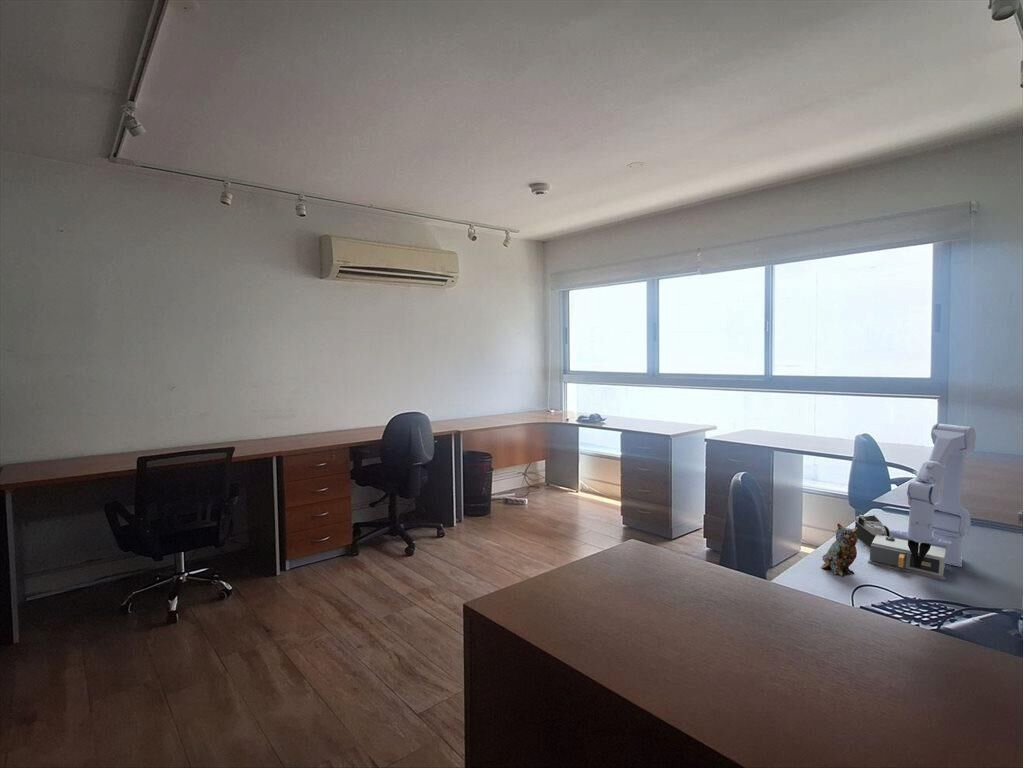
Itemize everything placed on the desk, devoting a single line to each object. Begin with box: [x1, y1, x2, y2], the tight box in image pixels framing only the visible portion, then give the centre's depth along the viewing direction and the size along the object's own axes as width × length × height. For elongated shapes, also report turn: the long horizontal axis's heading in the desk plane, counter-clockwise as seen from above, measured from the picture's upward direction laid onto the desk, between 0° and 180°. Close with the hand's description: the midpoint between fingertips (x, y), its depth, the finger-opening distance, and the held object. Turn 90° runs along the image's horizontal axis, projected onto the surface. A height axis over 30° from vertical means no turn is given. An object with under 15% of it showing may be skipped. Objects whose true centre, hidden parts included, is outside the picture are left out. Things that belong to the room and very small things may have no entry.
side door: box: [869, 545, 907, 568], centre depth 167 cm, size 5×9×5 cm, turn 49°
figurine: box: [820, 522, 859, 578], centre depth 164 cm, size 9×9×15 cm
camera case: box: [867, 535, 946, 581], centre depth 169 cm, size 12×19×6 cm, turn 49°
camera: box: [854, 514, 891, 550], centre depth 187 cm, size 16×9×10 cm, turn 169°
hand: (917, 566), depth 161 cm, fingers closed
